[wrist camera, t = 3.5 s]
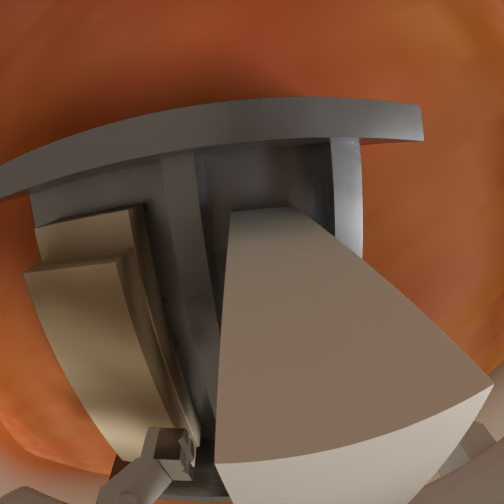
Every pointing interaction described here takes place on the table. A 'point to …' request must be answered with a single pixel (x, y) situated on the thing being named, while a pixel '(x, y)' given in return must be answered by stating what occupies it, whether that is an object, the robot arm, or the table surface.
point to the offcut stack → (111, 325)
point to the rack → (212, 205)
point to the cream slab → (329, 373)
